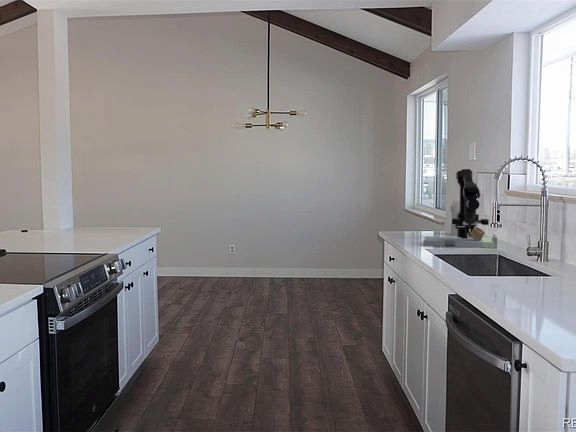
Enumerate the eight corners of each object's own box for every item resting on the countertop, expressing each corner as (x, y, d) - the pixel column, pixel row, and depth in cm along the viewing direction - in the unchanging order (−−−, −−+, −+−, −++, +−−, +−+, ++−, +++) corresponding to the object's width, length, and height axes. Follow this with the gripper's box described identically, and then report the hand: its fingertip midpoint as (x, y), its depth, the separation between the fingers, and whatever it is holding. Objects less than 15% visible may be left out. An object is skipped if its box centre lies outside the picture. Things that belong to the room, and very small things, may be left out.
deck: (425, 241, 310) (425, 232, 310) (494, 243, 299) (495, 233, 298) (423, 245, 293) (423, 236, 292) (496, 248, 282) (497, 237, 281)
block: (472, 234, 294) (477, 227, 292) (480, 240, 291) (485, 232, 289) (468, 235, 290) (473, 228, 288) (476, 241, 288) (481, 233, 285)
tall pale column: (450, 235, 335) (450, 200, 333) (450, 234, 339) (450, 199, 337) (468, 236, 333) (468, 200, 331) (467, 235, 337) (468, 199, 335)
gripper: (451, 209, 288) (451, 238, 289) (489, 210, 282) (488, 239, 283) (452, 208, 298) (451, 236, 300) (488, 208, 293) (487, 237, 294)
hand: (469, 237), depth 294 cm, fingers closed
